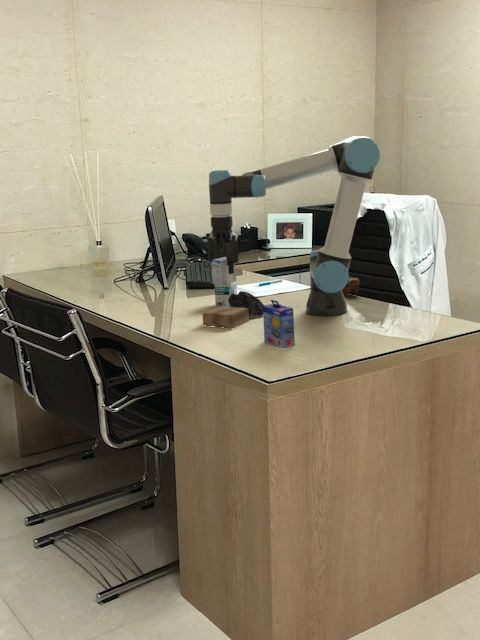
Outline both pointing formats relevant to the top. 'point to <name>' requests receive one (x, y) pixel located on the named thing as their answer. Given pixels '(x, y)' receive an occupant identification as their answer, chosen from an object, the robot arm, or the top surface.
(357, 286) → the decorative turtle
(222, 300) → the light bulb box
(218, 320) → the walnut desk box
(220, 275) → the medicine box
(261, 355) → the top surface
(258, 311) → the black rock
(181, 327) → the top surface
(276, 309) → the ink cartridge box
